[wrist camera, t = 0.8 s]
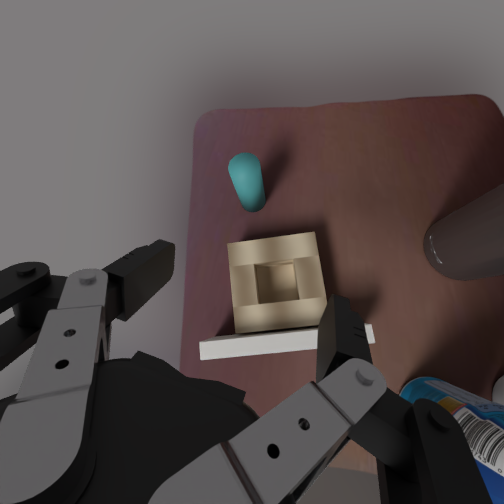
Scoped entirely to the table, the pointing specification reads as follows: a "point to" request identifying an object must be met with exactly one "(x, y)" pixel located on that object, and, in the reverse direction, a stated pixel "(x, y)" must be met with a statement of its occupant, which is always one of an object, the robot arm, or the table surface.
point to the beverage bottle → (470, 426)
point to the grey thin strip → (498, 391)
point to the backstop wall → (265, 342)
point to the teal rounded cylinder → (248, 181)
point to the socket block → (276, 283)
